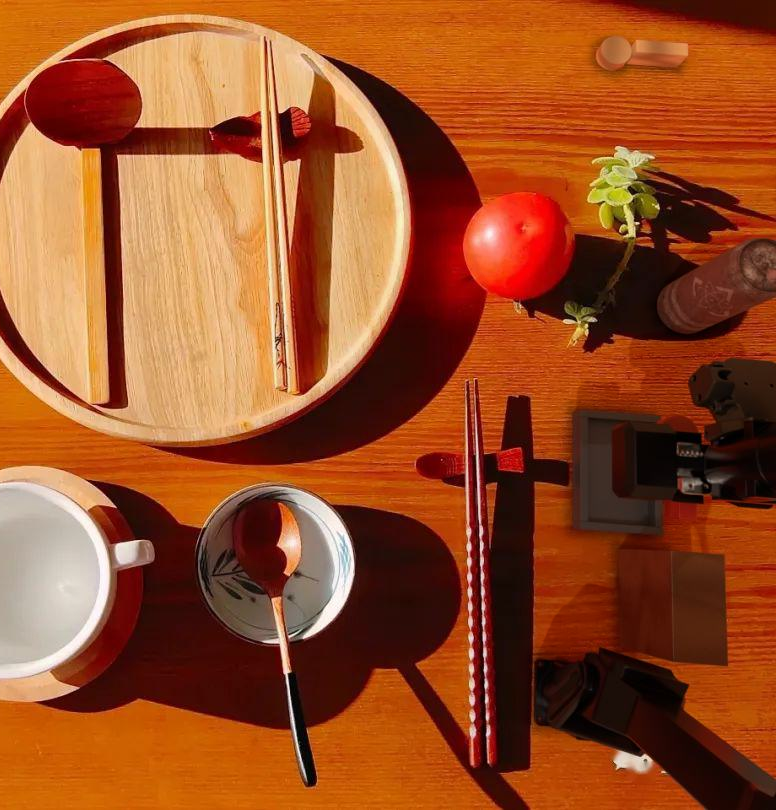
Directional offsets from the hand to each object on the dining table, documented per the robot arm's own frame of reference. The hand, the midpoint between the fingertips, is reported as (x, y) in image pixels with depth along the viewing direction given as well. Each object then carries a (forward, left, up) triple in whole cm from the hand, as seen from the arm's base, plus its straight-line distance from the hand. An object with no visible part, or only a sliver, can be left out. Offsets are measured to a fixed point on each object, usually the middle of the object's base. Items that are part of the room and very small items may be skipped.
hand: (673, 476), depth 71 cm
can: (+20, -8, -12) cm, 25 cm away
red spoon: (+1, 0, 0) cm, 1 cm away
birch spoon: (+51, -3, -11) cm, 52 cm away
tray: (+1, 0, -11) cm, 11 cm away
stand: (-12, -3, -11) cm, 17 cm away
